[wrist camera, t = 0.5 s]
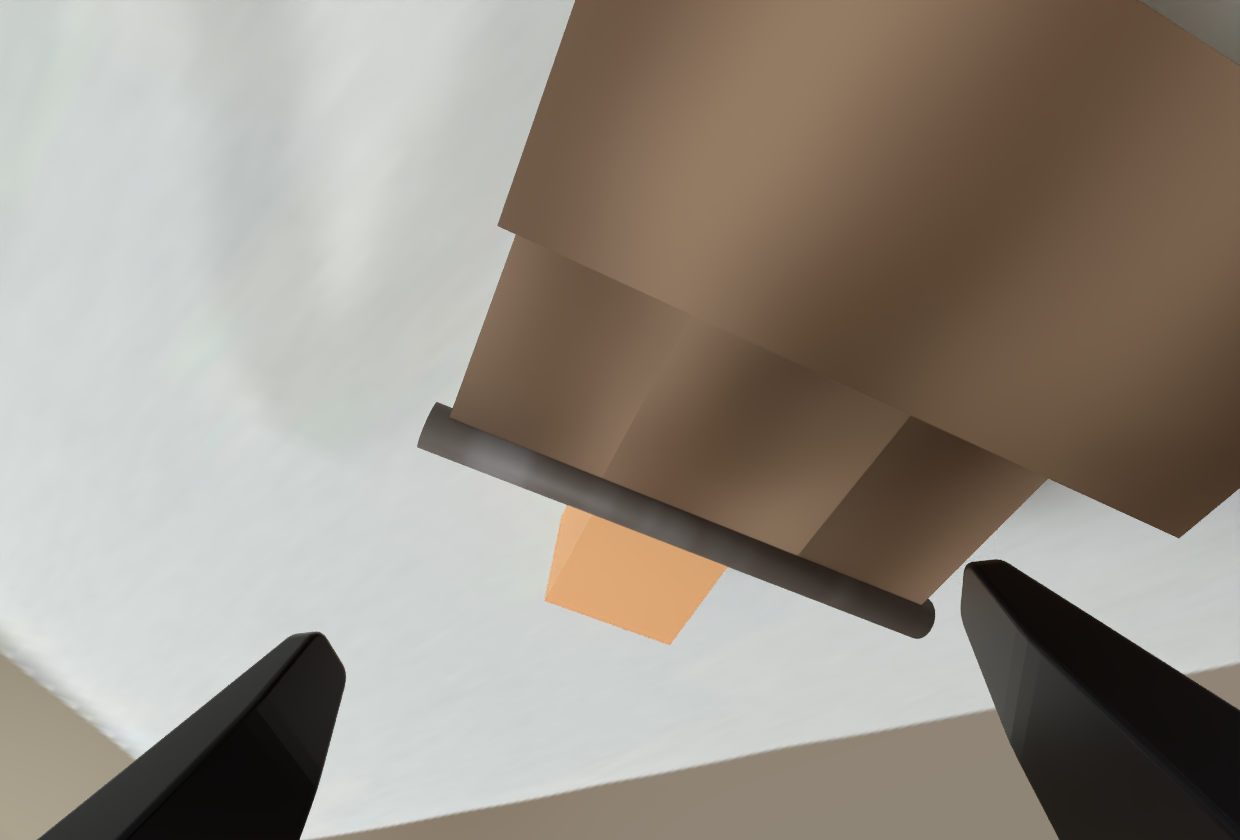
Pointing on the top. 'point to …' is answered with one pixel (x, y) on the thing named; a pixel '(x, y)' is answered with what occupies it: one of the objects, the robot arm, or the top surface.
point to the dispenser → (865, 282)
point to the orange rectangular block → (627, 576)
